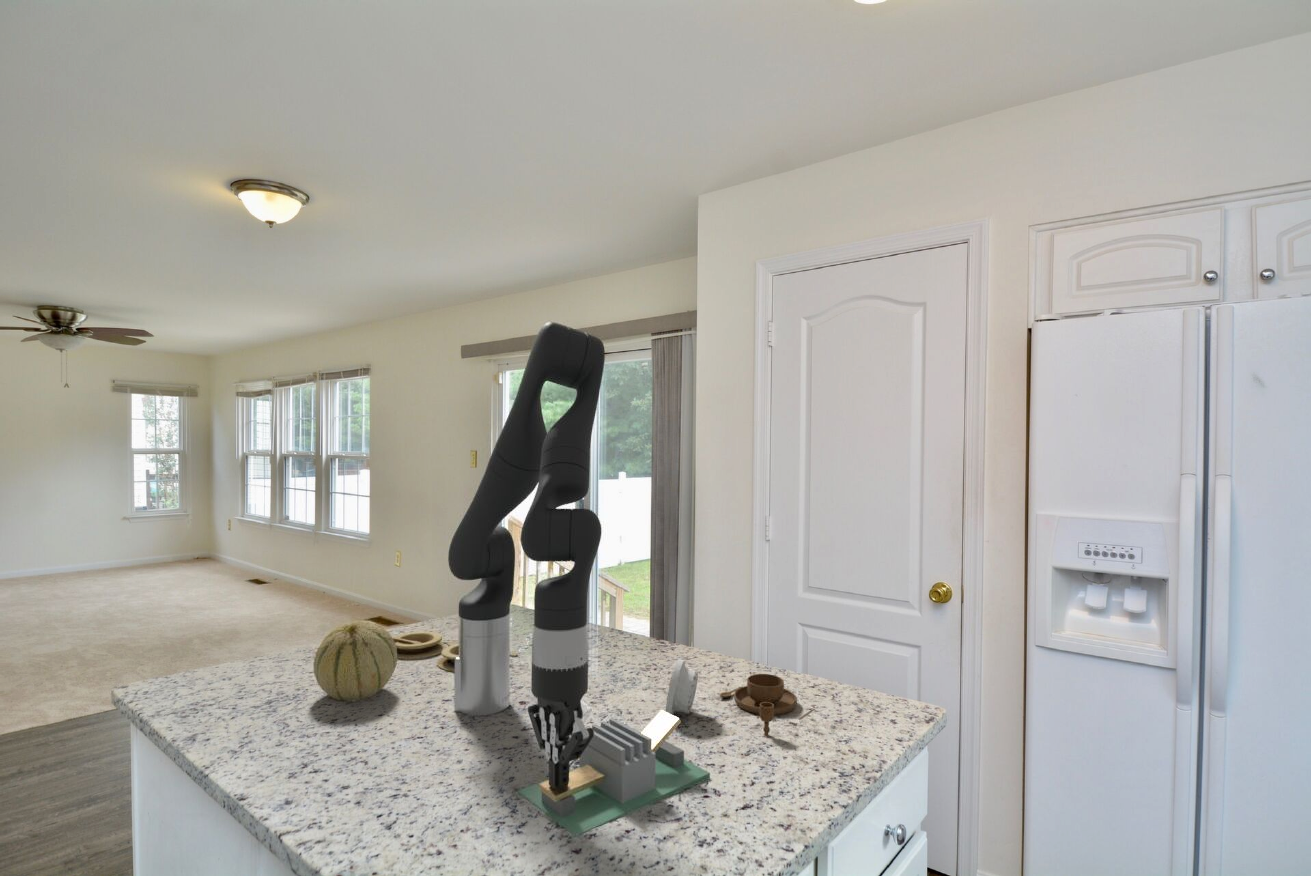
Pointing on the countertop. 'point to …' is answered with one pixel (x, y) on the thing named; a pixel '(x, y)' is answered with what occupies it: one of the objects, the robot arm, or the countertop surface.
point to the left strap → (574, 783)
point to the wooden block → (661, 728)
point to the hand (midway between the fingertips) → (558, 786)
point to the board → (611, 808)
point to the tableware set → (428, 648)
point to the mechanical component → (681, 689)
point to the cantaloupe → (355, 660)
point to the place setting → (765, 698)
